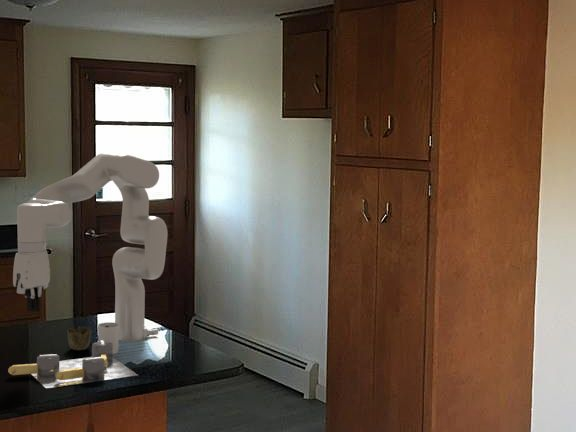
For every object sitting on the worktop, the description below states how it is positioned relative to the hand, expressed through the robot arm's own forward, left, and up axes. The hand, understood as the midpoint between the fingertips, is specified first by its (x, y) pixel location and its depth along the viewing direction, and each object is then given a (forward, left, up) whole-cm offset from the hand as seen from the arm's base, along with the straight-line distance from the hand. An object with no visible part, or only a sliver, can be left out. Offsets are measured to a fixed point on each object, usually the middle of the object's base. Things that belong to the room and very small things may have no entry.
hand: (33, 310), depth 233 cm
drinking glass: (-25, -7, -19) cm, 32 cm away
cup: (-18, -14, -19) cm, 29 cm away
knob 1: (+2, +7, -17) cm, 18 cm away
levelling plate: (-11, +8, -18) cm, 23 cm away
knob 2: (-19, +5, -17) cm, 26 cm away
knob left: (-8, +16, -17) cm, 25 cm away
